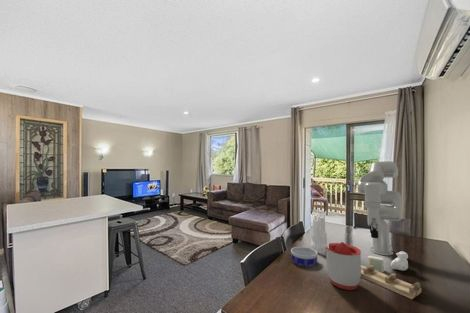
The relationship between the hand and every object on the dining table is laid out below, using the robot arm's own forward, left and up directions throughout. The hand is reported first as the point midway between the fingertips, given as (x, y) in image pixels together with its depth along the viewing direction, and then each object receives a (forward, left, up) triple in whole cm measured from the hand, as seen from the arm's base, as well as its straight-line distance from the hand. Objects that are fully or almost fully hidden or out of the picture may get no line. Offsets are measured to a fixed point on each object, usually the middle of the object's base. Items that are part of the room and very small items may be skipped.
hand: (374, 235), depth 118 cm
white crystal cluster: (+4, -34, -19) cm, 39 cm away
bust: (-12, +7, -19) cm, 23 cm away
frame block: (0, 0, -19) cm, 19 cm away
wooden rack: (+11, +7, -19) cm, 23 cm away
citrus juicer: (+30, -1, -19) cm, 35 cm away
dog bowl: (+26, -28, -19) cm, 42 cm away
